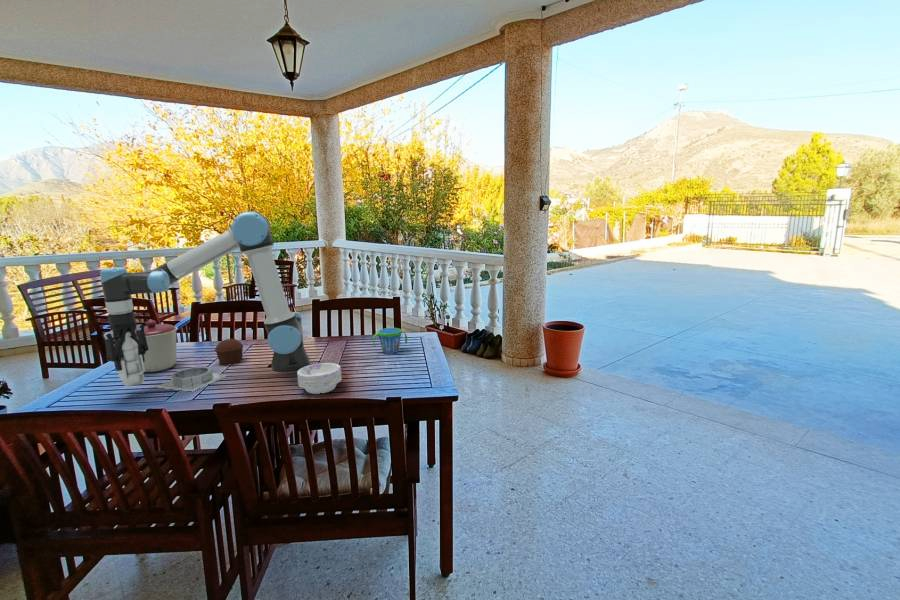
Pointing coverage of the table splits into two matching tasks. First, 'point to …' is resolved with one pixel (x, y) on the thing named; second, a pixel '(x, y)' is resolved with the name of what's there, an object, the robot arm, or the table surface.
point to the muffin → (229, 351)
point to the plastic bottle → (131, 362)
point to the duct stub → (192, 379)
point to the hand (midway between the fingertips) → (132, 374)
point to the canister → (159, 346)
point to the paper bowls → (319, 377)
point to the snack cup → (390, 339)
